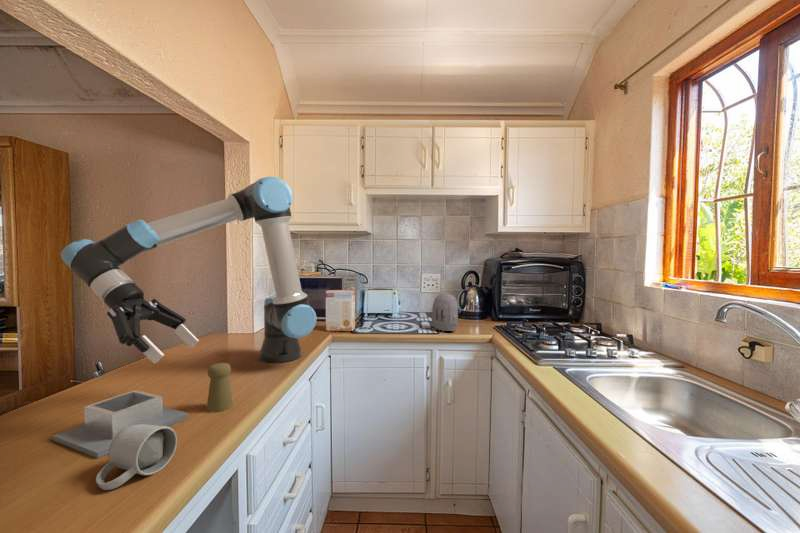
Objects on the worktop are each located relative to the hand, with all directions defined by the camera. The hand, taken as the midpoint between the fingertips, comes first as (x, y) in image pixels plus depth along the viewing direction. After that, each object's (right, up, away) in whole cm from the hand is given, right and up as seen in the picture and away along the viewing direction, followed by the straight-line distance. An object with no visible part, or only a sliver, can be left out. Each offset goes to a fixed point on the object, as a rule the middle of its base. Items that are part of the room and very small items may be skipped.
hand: (178, 351), depth 87 cm
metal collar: (-5, -14, -10) cm, 19 cm away
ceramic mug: (+9, -15, -26) cm, 31 cm away
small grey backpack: (+79, -12, +90) cm, 120 cm away
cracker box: (+25, -12, +89) cm, 94 cm away
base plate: (-5, -14, -10) cm, 19 cm away
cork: (+10, -14, 0) cm, 18 cm away
